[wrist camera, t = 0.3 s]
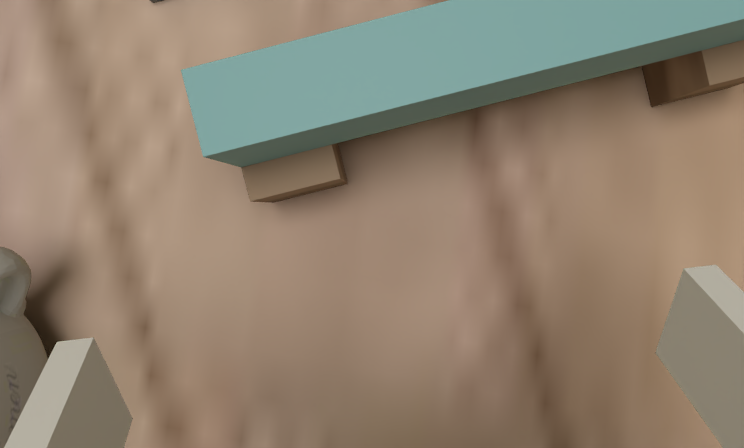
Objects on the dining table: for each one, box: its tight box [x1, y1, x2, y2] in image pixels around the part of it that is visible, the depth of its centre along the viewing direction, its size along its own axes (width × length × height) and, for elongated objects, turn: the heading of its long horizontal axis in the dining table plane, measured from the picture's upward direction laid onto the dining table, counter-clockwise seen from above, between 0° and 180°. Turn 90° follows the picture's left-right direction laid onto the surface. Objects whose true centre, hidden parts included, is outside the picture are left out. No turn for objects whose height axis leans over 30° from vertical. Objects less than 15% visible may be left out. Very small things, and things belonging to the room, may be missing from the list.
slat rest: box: [241, 40, 744, 202], centre depth 26 cm, size 6×24×5 cm, turn 104°
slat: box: [181, 0, 744, 167], centre depth 21 cm, size 3×24×5 cm, turn 104°
